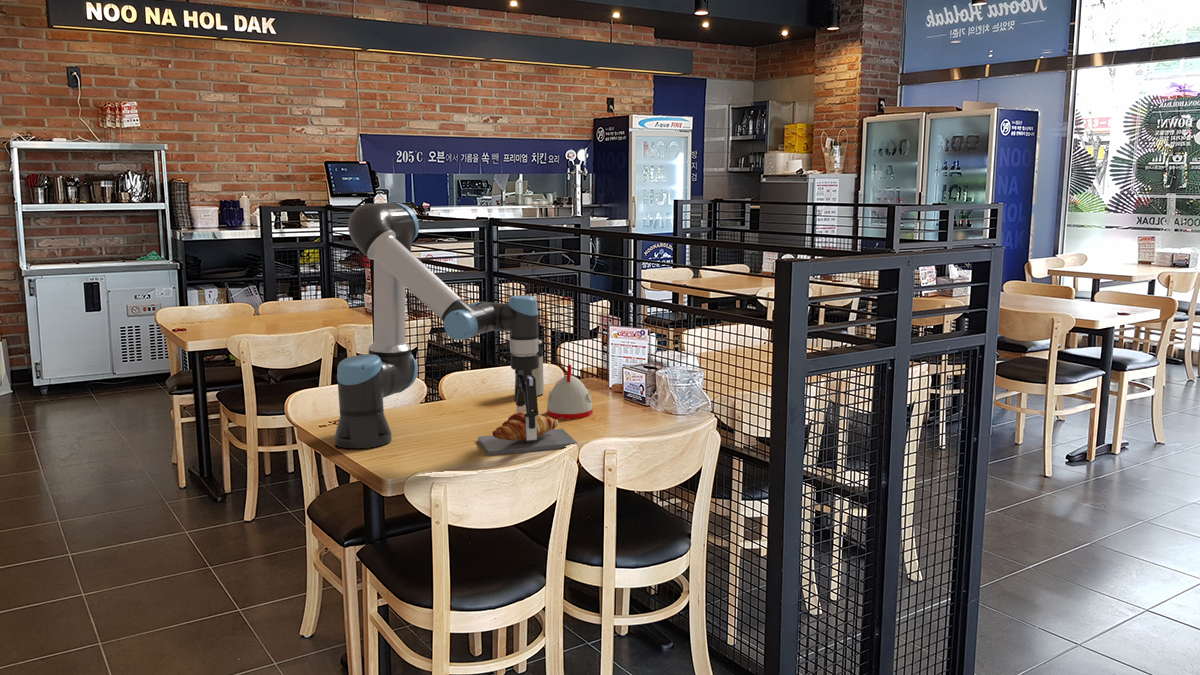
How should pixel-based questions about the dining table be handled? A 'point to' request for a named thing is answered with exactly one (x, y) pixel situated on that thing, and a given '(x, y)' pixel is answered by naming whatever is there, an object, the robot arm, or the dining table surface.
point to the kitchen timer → (569, 398)
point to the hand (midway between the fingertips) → (526, 434)
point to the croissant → (523, 427)
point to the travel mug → (539, 372)
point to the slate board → (526, 443)
